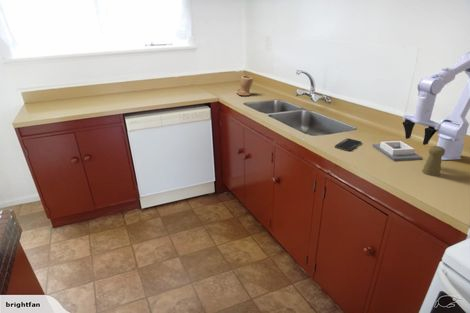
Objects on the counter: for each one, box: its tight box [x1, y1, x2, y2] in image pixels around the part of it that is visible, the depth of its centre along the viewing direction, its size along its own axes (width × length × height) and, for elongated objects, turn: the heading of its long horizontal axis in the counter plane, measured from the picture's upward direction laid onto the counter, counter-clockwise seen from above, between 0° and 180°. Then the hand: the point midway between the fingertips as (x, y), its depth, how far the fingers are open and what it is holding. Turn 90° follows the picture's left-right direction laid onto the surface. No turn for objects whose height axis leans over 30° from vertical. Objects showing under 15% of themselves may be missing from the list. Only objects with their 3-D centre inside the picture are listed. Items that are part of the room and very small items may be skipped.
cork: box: [421, 145, 445, 177], centre depth 122 cm, size 6×6×11 cm
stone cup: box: [235, 75, 254, 97], centre depth 249 cm, size 15×12×15 cm
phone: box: [334, 138, 363, 152], centre depth 150 cm, size 8×1×15 cm
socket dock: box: [372, 140, 422, 162], centre depth 142 cm, size 13×17×4 cm
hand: (416, 141), depth 127 cm, fingers open, 7 cm apart
